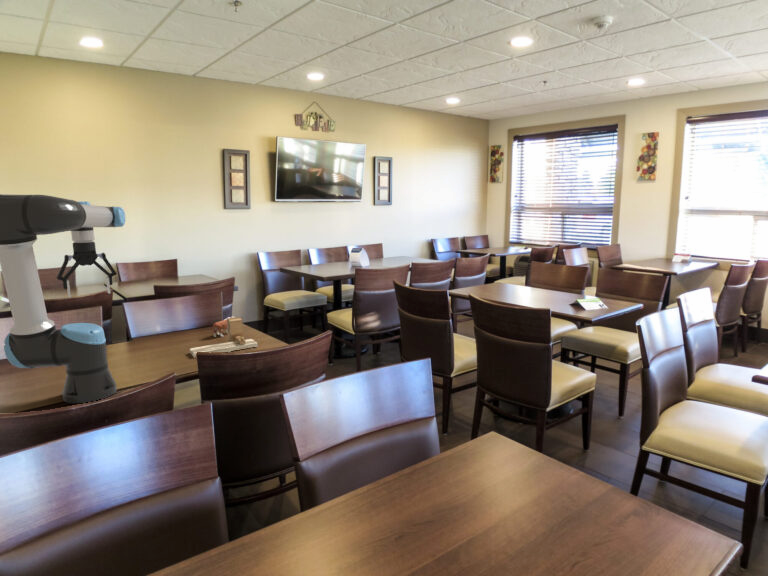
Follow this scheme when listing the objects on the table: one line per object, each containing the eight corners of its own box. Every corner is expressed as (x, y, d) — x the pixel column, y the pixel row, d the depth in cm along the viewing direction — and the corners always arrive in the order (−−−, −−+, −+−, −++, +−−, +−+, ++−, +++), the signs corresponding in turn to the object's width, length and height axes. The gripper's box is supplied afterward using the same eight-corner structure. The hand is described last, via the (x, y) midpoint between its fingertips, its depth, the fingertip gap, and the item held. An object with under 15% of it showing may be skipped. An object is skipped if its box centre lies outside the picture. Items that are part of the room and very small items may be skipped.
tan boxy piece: (249, 348, 211) (248, 323, 209) (237, 350, 208) (236, 325, 206) (239, 340, 222) (237, 317, 220) (228, 342, 219) (226, 318, 217)
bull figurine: (239, 332, 237) (238, 315, 235) (216, 338, 225) (215, 321, 224) (233, 331, 239) (232, 314, 237) (210, 337, 228) (209, 320, 226)
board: (257, 347, 212) (257, 342, 212) (194, 358, 198) (194, 353, 198) (251, 342, 219) (251, 338, 218) (190, 353, 205) (189, 348, 204)
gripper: (118, 239, 203) (123, 290, 207) (44, 242, 189) (51, 297, 192) (120, 240, 197) (126, 292, 201) (45, 244, 183) (52, 300, 186)
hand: (89, 295), depth 197 cm, fingers open, 13 cm apart
